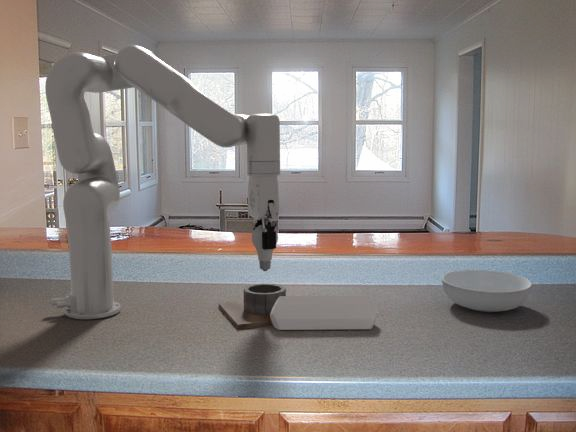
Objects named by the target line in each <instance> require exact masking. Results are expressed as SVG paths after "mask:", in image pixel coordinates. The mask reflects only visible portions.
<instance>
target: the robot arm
mask: <svg viewBox="0 0 576 432" xmlns="http://www.w3.org/2000/svg"><path fill="white" fill-rule="evenodd" d="M133 88H134V89H136V90H137V91H139V92H140V93H142V94H143V95H145V96H146V97H148V98H149V99H151V100H153V101H154V102H155V103H156V104H158V105H159V106H160V107H162V108H163V109H165V110H167V111H168V112H169V113H170V114H171V115H173V116H174V117H176V118H177V119H179V120H180V121H182V123H184V124H185V125H186V126H188V127H190V128H191V129H192V130H194V131H195V132H197V133H199V135H201V136H203V137H204V138H206V139H207V140H208V141H210V142H211V143H213V144H214V145H216V146H218V147H221V148H225V149H226V148H227V149H228V148H232V147H236V146H243V145H246V169H247V170H246V171H247V173H246V175H247V176H249V178H248V185H247V186H248V187H247V189H248V190H247V214H248V215H249V216H250V217H251V218H252V219H253V221H252V225H253V228H252V229H253V231H254V230H255V228H256V227H258V226H260V225H263V231H264V232H262V249H264V250H267V249H274V250H275V249H276V248H277V244H276V232H277V222H278V218H279V215H280V195H279V180H278V176H281V149H280V148H281V138H280V137H281V131H280V130H281V127H280V122H281V121H280V118H279V116H278V115H276V114H275V113H253V114H249V115H247V114H240V113H239V114H237V113H232V112H230V111H228V110H226V109H225V108H224V107H223V106H221V105H219V104H218V103H216V102H215V101H214V100H212V99H211V98H209V97H208V96H206V95H205V94H204V93H203V92H201V90H200V89H198V88H197V87H196V86H195V84H194V82H193V81H191V80H190V79H189V78H188V77H186V76H185V75H184V74H182V73H181V72H179V71H178V70H176V69H175V68H173V67H172V66H170V65H168V64H167V63H165V61H163V60H161V59H160V58H159V57H158V56H156V54H155V53H154V52H153V51H151V50H149V49H147V48H145V47H143V46H140V45H136V44H128V45H124V46H123V47H122V48H121V49H119V51H118V52H117V53H114V54H112V53H111V54H106V55H93V54H91V53H88V52H82V51H74V52H70V53H66V54H65V55H63V56H61V57H59V58H58V59H57V60H56V61H55V62H54V63H53V65H52V66H51V67H50V69H49V70H48V73H47V76H46V80H45V86H44V89H45V97H46V103H47V107H48V111H49V117H50V120H51V127H52V131H53V136H54V137H53V138H54V141H55V145H56V147H55V148H56V149H57V150H56V151H57V156H58V160H59V162H60V165H61V166H62V168H63V170H65V171H66V172H69V173H71V174H74V175H75V174H76V175H77V181H75V182H74V183H73V184H71V185H70V186H69V187H68V188H67V190H66V192H65V194H64V197H63V202H62V204H63V214H64V218H65V223H66V230H67V238H68V241H67V242H68V256H69V273H70V292H69V295H66V296H65V297H61V298H60V297H55V298H51V303H50V304H51V307H52V308H53V307H56V308H57V309H60V308H62V309H63V308H65V310H64V312H65V316H66V317H68V318H71V319H75V320H96V319H103V318H108V317H111V316H115V315H116V314H118V313H119V312H121V308H122V307H121V303H119V302H117V301H114V297H115V296H114V279H113V276H114V275H113V258H112V254H113V252H112V240H111V239H112V237H111V229H110V228H111V227H110V223H109V219H108V214H109V213H111V212H112V211H113V210H114V209H116V208H117V206H118V204H119V202H120V199H121V198H120V196H121V195H120V193H121V191H120V186H119V181H118V175H117V171H116V166H115V161H114V156H113V152H112V149H111V146H110V145H109V143H108V141H107V139H105V137H103V136H102V135H100V134H99V133H96V132H94V129H93V126H92V120H91V114H90V111H89V108H88V105H87V103H86V100H85V93H86V92H87V93H95V94H96V93H97V94H98V93H108V92H113V91H118V90H119V91H120V90H125V89H128V90H129V89H133ZM253 231H252V232H253Z"/></svg>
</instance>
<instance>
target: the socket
mask: <svg viewBox="0 0 576 432" xmlns="http://www.w3.org/2000/svg"><path fill="white" fill-rule="evenodd" d="M280 296H287V288H286V287H285V286H284V285H281V284H278V283H277V284H276V283H265V282H264V283H254V284H253V283H252V284H251V285H247V286H245V287H244V288H243V300H238V301H225V302H224V301H223V302H218V308H219V309H220V310H221V312H222V313H223V314H224V315H225V317H227V318H228V320H229V321H230V322H231V323H232V324H233V325H234V327H235V328H236V329H237V330H241V329H250V328H261V327H268V326H273V324H272V321H271V318H270V313H271V310H272V308H273V306H274V304H275V302H276V300H277V299H278V298H279V297H280Z"/></svg>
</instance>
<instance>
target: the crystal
mask: <svg viewBox="0 0 576 432" xmlns="http://www.w3.org/2000/svg"><path fill="white" fill-rule="evenodd" d="M378 316H379V313H378V311H377V309H376V307H375V305H374V304H373V301H372V299H371V297H370V295H286V296H280V297H279V298H278V299H277V300H276V302H275V304H274V306H273V308H272V310H271V313H270V318H271V321H272V324H273V325H272V326H273V327H274V328H275V329H276V330H278V331H280V330H281V331H285V330H286V331H289V330H290V331H292V330H293V331H297V330H299V331H301V330H304V331H306V330H307V331H308V330H311V331H314V330H315V331H317V330H322V331H323V330H372V329H373V327H374V326H375V324H376V322H377V320H378Z"/></svg>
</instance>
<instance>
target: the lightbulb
mask: <svg viewBox="0 0 576 432" xmlns="http://www.w3.org/2000/svg"><path fill="white" fill-rule="evenodd" d="M262 232H264V231H263V225H260V226H258V227H256V228H255V230H254V231H252V234H251V242H252V244H253V246H254V248H255V250H256V253H257V258H258V260H257V261H259V265H258V266H259V269H260V270H262V271H263V272H267V271H269V270H270V269H271V263H272V258H273V252H274V250H275V249H267V250H264V249H262ZM278 241H279V234H278V232H277V231H276V245H277V243H278Z"/></svg>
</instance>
